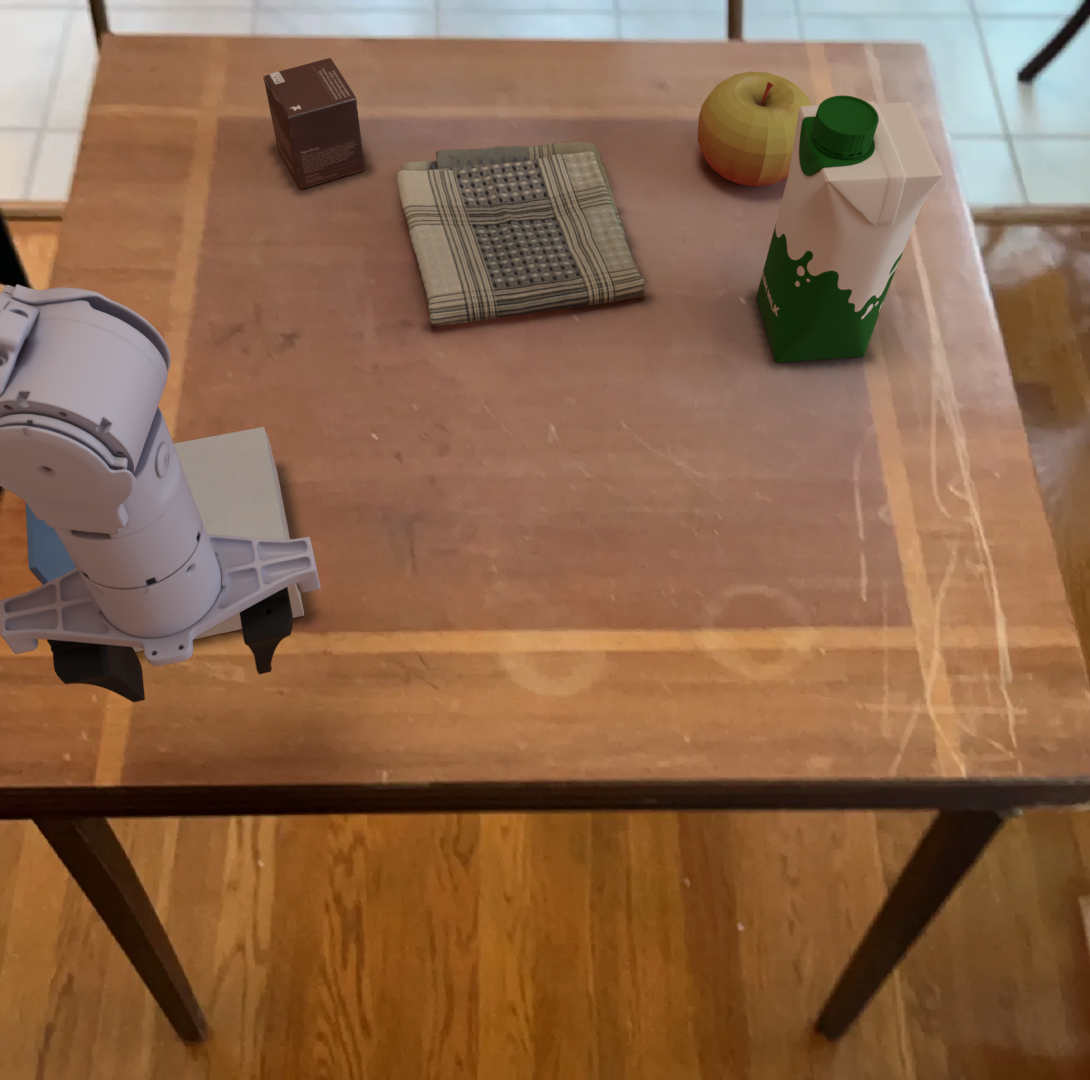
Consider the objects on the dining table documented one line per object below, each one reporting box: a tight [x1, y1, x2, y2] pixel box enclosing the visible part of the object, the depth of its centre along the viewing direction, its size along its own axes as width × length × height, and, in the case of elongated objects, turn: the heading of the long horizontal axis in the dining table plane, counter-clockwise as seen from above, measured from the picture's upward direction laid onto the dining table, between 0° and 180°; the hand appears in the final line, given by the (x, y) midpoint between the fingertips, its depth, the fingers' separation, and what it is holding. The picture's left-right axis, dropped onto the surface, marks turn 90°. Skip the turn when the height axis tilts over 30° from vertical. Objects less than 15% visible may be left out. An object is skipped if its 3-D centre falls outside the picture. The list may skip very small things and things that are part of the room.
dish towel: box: [396, 140, 646, 326], centre depth 95 cm, size 19×18×3 cm
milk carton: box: [755, 95, 944, 364], centre depth 84 cm, size 9×9×20 cm
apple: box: [697, 71, 812, 187], centre depth 99 cm, size 10×10×8 cm
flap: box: [24, 501, 76, 585], centre depth 71 cm, size 6×12×1 cm
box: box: [262, 57, 366, 189], centre depth 98 cm, size 6×6×7 cm
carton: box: [133, 426, 305, 653], centre depth 77 cm, size 13×12×5 cm
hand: (200, 670), depth 63 cm, fingers open, 6 cm apart
